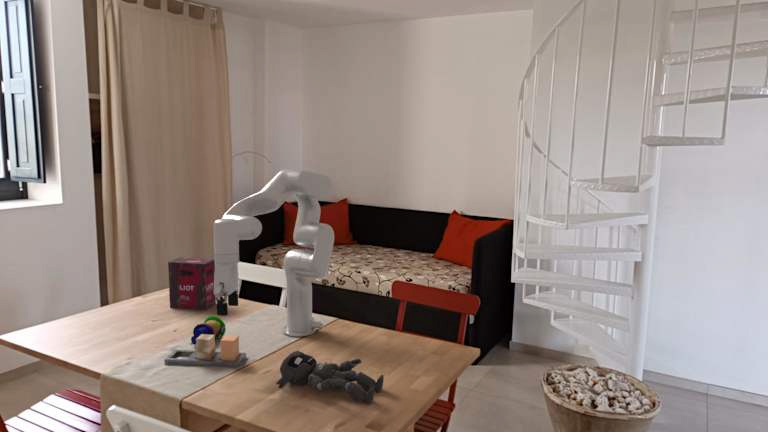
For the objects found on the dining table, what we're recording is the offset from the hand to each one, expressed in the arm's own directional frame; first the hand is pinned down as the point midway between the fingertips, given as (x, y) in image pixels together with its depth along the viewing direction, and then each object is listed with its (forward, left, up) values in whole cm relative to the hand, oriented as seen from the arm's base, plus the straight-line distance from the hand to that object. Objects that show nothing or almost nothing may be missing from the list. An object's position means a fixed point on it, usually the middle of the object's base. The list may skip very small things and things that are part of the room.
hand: (227, 310), depth 176 cm
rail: (+8, 0, -18) cm, 20 cm away
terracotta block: (0, 0, -17) cm, 17 cm away
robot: (-35, +13, -19) cm, 42 cm away
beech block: (+8, 0, -17) cm, 19 cm away
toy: (+13, -18, -19) cm, 29 cm away
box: (+36, -58, -19) cm, 71 cm away
